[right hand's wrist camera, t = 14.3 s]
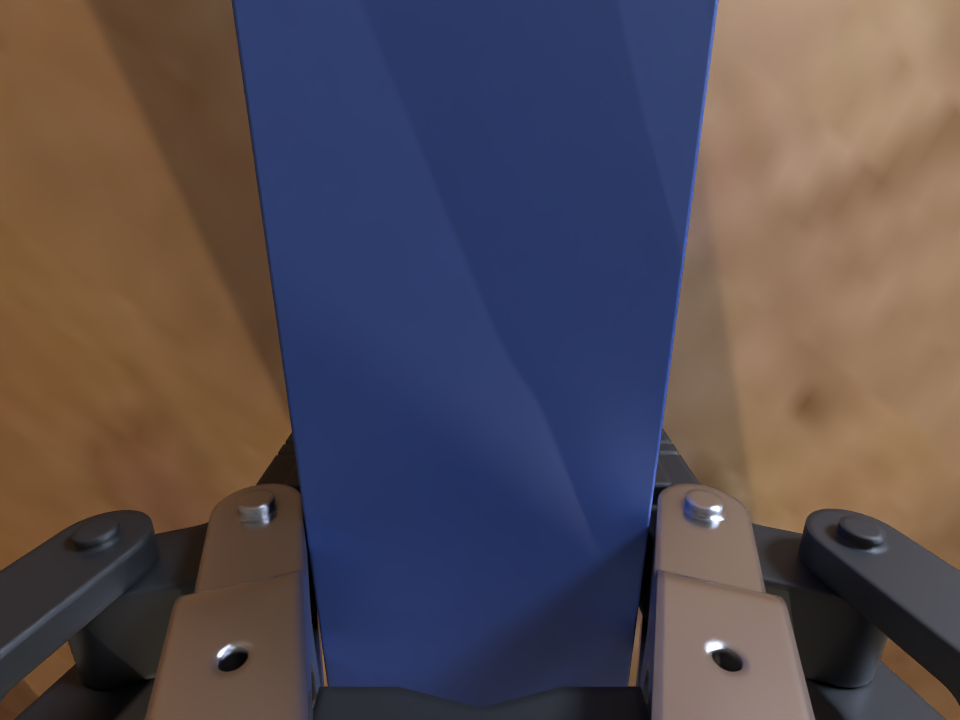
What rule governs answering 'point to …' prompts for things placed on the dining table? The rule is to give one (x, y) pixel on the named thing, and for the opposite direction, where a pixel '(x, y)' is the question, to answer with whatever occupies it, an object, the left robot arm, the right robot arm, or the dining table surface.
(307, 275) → the bar
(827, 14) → the dining table surface
